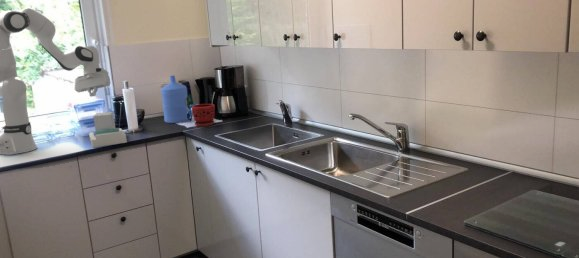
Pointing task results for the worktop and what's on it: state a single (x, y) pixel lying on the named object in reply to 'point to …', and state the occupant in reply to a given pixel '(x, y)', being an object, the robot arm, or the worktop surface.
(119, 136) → the white tray
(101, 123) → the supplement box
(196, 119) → the plant pot
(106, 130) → the pusher
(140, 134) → the worktop surface
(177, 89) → the water jug
